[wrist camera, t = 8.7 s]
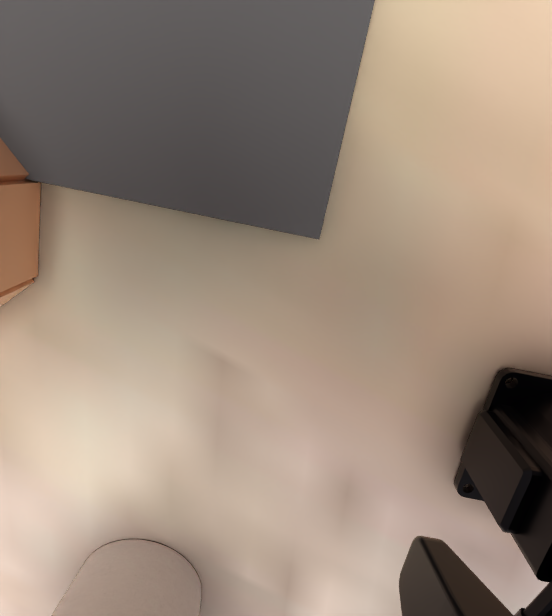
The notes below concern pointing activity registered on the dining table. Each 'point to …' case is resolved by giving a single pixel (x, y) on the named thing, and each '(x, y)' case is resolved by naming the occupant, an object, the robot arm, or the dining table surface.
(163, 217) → the dining table surface
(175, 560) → the coffee cup
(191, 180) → the trivet
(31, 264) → the bowl
